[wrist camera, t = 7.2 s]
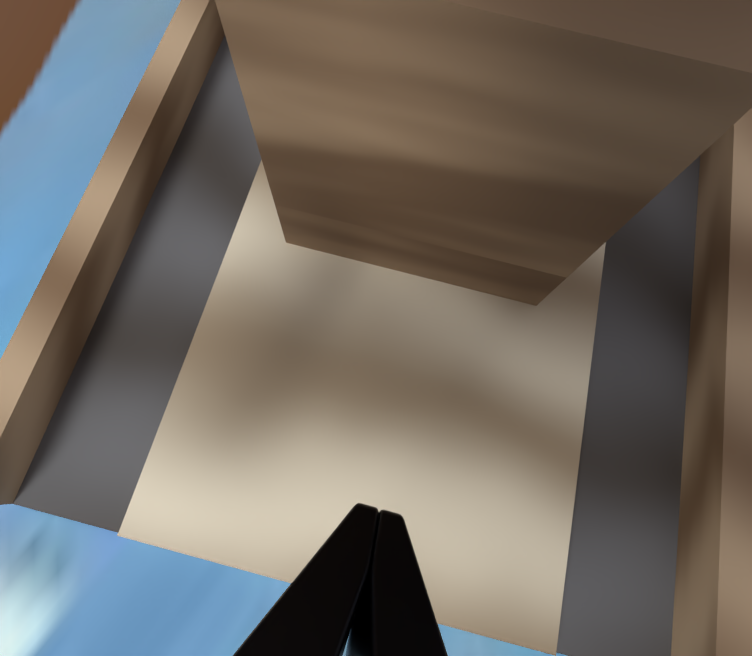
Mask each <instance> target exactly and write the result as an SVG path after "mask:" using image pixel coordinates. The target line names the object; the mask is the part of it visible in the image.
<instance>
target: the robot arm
mask: <svg viewBox="0 0 752 656" xmlns="http://www.w3.org/2000/svg"><path fill="white" fill-rule="evenodd" d="M348 636H349V638H348ZM347 639H348V644H347V651H346V656H448V655H447V652H446V649H445V646H444V643H443V640H442V636H441V633H440V630H439V627H438V624H437V621H436V618H435V614H434V611H433V608H432V605H431V602H430V599H429V596H428V593H427V589H426V586H425V583H424V580H423V577H422V574H421V571H420V567H419V564H418V561H417V558H416V555H415V552H414V549H413V546H412V542H411V539H410V536H409V533H408V530H407V527H406V524H405V520H404V518H403V516H402V515H401V514H398V513H394V512H391V511H387V510H381V511H380V512H379V511H378V509H377V508H376V507H373V506H369V505H366V504H362V503H357V504H356V505H354V507H353V508H352V509H351V510H350V512H349V513H348V514H347V515H346V516H345V518H344V519H343V520H342V521H341V523H340V524H339V525H338V526H337V528H336V529H335V530H334V531H333V533H332V534H331V535H330V536H329V537H328V539H327V540H326V541H325V542H324V544H323V545H322V546H321V547H320V549H319V550H318V551H317V552H316V554H315V555H314V556H313V557H312V558H311V560H310V561H309V562H308V563H307V565H306V566H305V567H304V568H303V570H302V571H301V572H300V573H299V575H298V576H297V577H296V578H295V580H294V581H293V582H292V583H291V584H290V586H289V587H288V588H287V589H286V591H285V592H284V593H283V594H282V596H281V597H280V598H279V599H278V601H277V602H276V603H275V604H274V605H273V607H272V608H271V609H270V610H269V612H268V613H267V614H266V615H265V617H264V618H263V619H262V620H261V622H260V623H259V624H258V625H257V627H256V628H255V629H254V630H253V631H252V633H251V634H250V635H249V636H248V638H247V639H246V640H245V641H244V643H243V644H242V645H241V646H240V648H239V649H238V650H237V651H236V652H235V654H234V655H233V656H342V655H343V652H344V649H345V645H346V642H347Z"/></svg>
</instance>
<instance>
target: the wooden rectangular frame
mask: <svg viewBox="0 0 752 656" xmlns="http://www.w3.org/2000/svg"><path fill="white" fill-rule="evenodd" d="M357 503H362V504H366V505H369V506H373V507H376V508H377V509H378V511H379V512H380V511H381V510H387V511H391V512H394V513H398V514H401V515H402V516H403V518H404V520H405V524H406V527H407V530H408V533H409V536H410V539H411V542H412V546H413V549H414V552H415V555H416V558H417V561H418V564H419V567H420V571H421V574H422V577H423V580H424V583H425V586H426V589H427V593H428V596H429V599H430V602H431V605H432V608H433V611H434V614H435V618H436V621H437V623H438V624H442V625H446V626H449V627H453V628H457V629H460V630H464V631H468V632H471V633H475V634H479V635H482V636H486V637H490V638H493V639H497V640H500V641H504V642H508V643H511V644H515V645H519V646H522V647H526V648H530V649H533V650H537V651H541V652H544V653H548V654H552V655H555V656H556V652H557V653H560V654H564V655H568V656H752V108H751V109H750V110H749V111H748V112H747V113H746V114H744V115H743V116H742V117H741V118H740V119H739V120H738V121H737V122H736V123H735V124H734V125H733V126H731V127H730V128H729V129H728V130H727V131H726V132H725V133H724V134H723V135H722V136H721V137H719V138H718V139H717V140H716V141H715V142H714V143H713V144H712V145H711V146H710V147H709V148H708V149H706V150H705V151H704V152H703V153H702V154H701V155H700V156H699V157H698V158H697V159H696V160H694V161H693V162H692V163H691V164H690V165H689V166H688V167H687V168H686V169H685V170H684V171H682V172H681V173H680V174H679V175H678V176H677V177H676V178H675V179H674V180H673V181H672V182H671V183H669V184H668V185H667V186H666V187H665V188H664V189H663V190H662V191H661V192H660V193H659V194H657V195H656V196H655V197H654V198H653V199H652V200H651V201H650V202H649V203H648V204H647V205H646V206H644V207H643V208H642V209H641V210H640V211H639V212H638V213H637V214H636V215H635V216H634V217H632V218H631V219H630V220H629V221H628V222H627V223H626V224H625V225H624V226H623V227H622V228H620V229H619V230H618V231H617V232H616V233H615V234H614V235H613V236H612V237H611V238H610V239H609V240H607V241H606V242H605V243H604V244H603V245H602V246H601V247H600V248H599V249H598V250H597V251H595V252H594V253H593V254H592V255H591V256H590V257H589V258H588V259H587V260H586V261H585V262H584V263H582V264H581V265H580V266H579V267H578V268H577V269H576V270H575V271H574V272H573V273H572V274H570V275H569V276H568V277H567V278H566V279H565V280H564V281H563V282H562V283H561V284H560V285H559V286H557V287H556V288H555V289H554V290H553V291H552V292H551V293H550V294H549V295H548V296H547V297H545V298H544V299H543V300H542V301H541V302H540V303H539V304H538V305H537V306H535V305H531V304H527V303H523V302H519V301H515V300H511V299H507V298H503V297H499V296H495V295H491V294H487V293H483V292H479V291H475V290H471V289H467V288H463V287H459V286H455V285H451V284H448V283H444V282H440V281H436V280H432V279H428V278H424V277H420V276H416V275H412V274H408V273H404V272H400V271H396V270H392V269H388V268H384V267H380V266H376V265H372V264H368V263H364V262H360V261H356V260H353V259H349V258H345V257H341V256H337V255H333V254H329V253H325V252H321V251H317V250H313V249H309V248H305V247H301V246H297V245H293V244H289V243H286V241H285V238H284V234H283V231H282V227H281V224H280V220H279V217H278V214H277V210H276V207H275V203H274V200H273V197H272V193H271V190H270V186H269V183H268V180H267V176H266V173H265V169H264V166H263V163H262V159H261V156H260V152H259V149H258V145H257V142H256V139H255V135H254V132H253V128H252V125H251V122H250V118H249V115H248V111H247V108H246V105H245V101H244V98H243V94H242V91H241V88H240V84H239V81H238V77H237V74H236V70H235V67H234V64H233V60H232V57H231V53H230V50H229V47H228V43H227V40H226V36H225V33H224V30H223V26H222V23H221V19H220V16H219V13H218V9H217V6H216V2H215V0H181V2H180V4H179V6H178V8H177V10H176V12H175V14H174V16H173V18H172V20H171V21H170V23H169V25H168V27H167V29H166V31H165V33H164V35H163V37H162V39H161V41H160V43H159V45H158V47H157V49H156V51H155V53H154V55H153V57H152V59H151V61H150V63H149V65H148V67H147V69H146V71H145V73H144V75H143V77H142V79H141V81H140V83H139V85H138V87H137V89H136V91H135V93H134V95H133V97H132V99H131V101H130V103H129V105H128V107H127V109H126V111H125V113H124V115H123V117H122V119H121V121H120V123H119V125H118V127H117V129H116V131H115V133H114V135H113V137H112V139H111V141H110V143H109V145H108V147H107V149H106V151H105V153H104V155H103V157H102V159H101V161H100V163H99V165H98V167H97V169H96V171H95V173H94V175H93V177H92V179H91V181H90V183H89V185H88V187H87V189H86V191H85V193H84V195H83V197H82V199H81V201H80V203H79V205H78V207H77V209H76V211H75V213H74V215H73V217H72V218H71V220H70V222H69V224H68V226H67V228H66V230H65V232H64V234H63V236H62V238H61V240H60V242H59V244H58V246H57V248H56V250H55V252H54V254H53V256H52V258H51V260H50V262H49V264H48V266H47V268H46V270H45V272H44V274H43V276H42V278H41V280H40V282H39V284H38V286H37V288H36V290H35V292H34V294H33V296H32V298H31V300H30V302H29V304H28V306H27V308H26V310H25V312H24V314H23V316H22V318H21V320H20V322H19V324H18V326H17V328H16V330H15V332H14V334H13V336H12V338H11V340H10V342H9V344H8V346H7V348H6V350H5V352H4V354H3V356H2V358H1V360H0V505H2V504H16V505H20V506H23V507H27V508H31V509H34V510H38V511H41V512H45V513H49V514H52V515H56V516H60V517H63V518H67V519H71V520H74V521H78V522H82V523H85V524H89V525H93V526H96V527H100V528H104V529H107V530H111V531H115V532H118V535H117V536H121V537H124V538H128V539H132V540H135V541H139V542H143V543H146V544H150V545H154V546H157V547H161V548H164V549H168V550H172V551H175V552H179V553H183V554H186V555H190V556H194V557H197V558H201V559H205V560H208V561H212V562H216V563H219V564H223V565H227V566H230V567H234V568H238V569H241V570H245V571H248V572H252V573H256V574H259V575H263V576H267V577H270V578H274V579H278V580H281V581H285V582H289V583H292V582H293V581H294V580H295V578H296V577H297V576H298V575H299V573H300V572H301V571H302V570H303V568H304V567H305V566H306V565H307V563H308V562H309V561H310V560H311V558H312V557H313V556H314V555H315V554H316V552H317V551H318V550H319V549H320V547H321V546H322V545H323V544H324V542H325V541H326V540H327V539H328V537H329V536H330V535H331V534H332V533H333V531H334V530H335V529H336V528H337V526H338V525H339V524H340V523H341V521H342V520H343V519H344V518H345V516H346V515H347V514H348V513H349V512H350V510H351V509H352V508H353V507H354V505H356V504H357Z"/></svg>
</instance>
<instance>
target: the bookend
mask: <svg viewBox="0 0 752 656" xmlns="http://www.w3.org/2000/svg"><path fill="white" fill-rule="evenodd" d="M215 2H216V6H217V9H218V13H219V16H220V19H221V23H222V26H223V30H224V33H225V36H226V40H227V43H228V47H229V50H230V53H231V57H232V60H233V64H234V67H235V70H236V74H237V77H238V81H239V84H240V88H241V91H242V94H243V98H244V101H245V105H246V108H247V111H248V115H249V118H250V122H251V125H252V128H253V132H254V135H255V139H256V142H257V145H258V149H259V152H260V156H261V159H262V163H263V166H264V169H265V173H266V176H267V180H268V183H269V186H270V190H271V193H272V197H273V200H274V203H275V207H276V210H277V214H278V217H279V220H280V224H281V227H282V231H283V234H284V238H285V241H286V243H289V244H293V245H297V246H301V247H305V248H309V249H313V250H317V251H321V252H325V253H329V254H333V255H337V256H341V257H345V258H349V259H353V260H356V261H360V262H364V263H368V264H372V265H376V266H380V267H384V268H388V269H392V270H396V271H400V272H404V273H408V274H412V275H416V276H420V277H424V278H428V279H432V280H436V281H440V282H444V283H448V284H451V285H455V286H459V287H463V288H467V289H471V290H475V291H479V292H483V293H487V294H491V295H495V296H499V297H503V298H507V299H511V300H515V301H519V302H523V303H527V304H531V305H535V306H537V305H538V304H539V303H540V302H541V301H542V300H543V299H544V298H545V297H547V296H548V295H549V294H550V293H551V292H552V291H553V290H554V289H555V288H556V287H557V286H559V285H560V284H561V283H562V282H563V281H564V280H565V279H566V278H567V277H568V276H569V275H570V274H572V273H573V272H574V271H575V270H576V269H577V268H578V267H579V266H580V265H581V264H582V263H584V262H585V261H586V260H587V259H588V258H589V257H590V256H591V255H592V254H593V253H594V252H595V251H597V250H598V249H599V248H600V247H601V246H602V245H603V244H604V243H605V242H606V241H607V240H609V239H610V238H611V237H612V236H613V235H614V234H615V233H616V232H617V231H618V230H619V229H620V228H622V227H623V226H624V225H625V224H626V223H627V222H628V221H629V220H630V219H631V218H632V217H634V216H635V215H636V214H637V213H638V212H639V211H640V210H641V209H642V208H643V207H644V206H646V205H647V204H648V203H649V202H650V201H651V200H652V199H653V198H654V197H655V196H656V195H657V194H659V193H660V192H661V191H662V190H663V189H664V188H665V187H666V186H667V185H668V184H669V183H671V182H672V181H673V180H674V179H675V178H676V177H677V176H678V175H679V174H680V173H681V172H682V171H684V170H685V169H686V168H687V167H688V166H689V165H690V164H691V163H692V162H693V161H694V160H696V159H697V158H698V157H699V156H700V155H701V154H702V153H703V152H704V151H705V150H706V149H708V148H709V147H710V146H711V145H712V144H713V143H714V142H715V141H716V140H717V139H718V138H719V137H721V136H722V135H723V134H724V133H725V132H726V131H727V130H728V129H729V128H730V127H731V126H733V125H734V124H735V123H736V122H737V121H738V120H739V119H740V118H741V117H742V116H743V115H744V114H746V113H747V112H748V111H749V110H750V109H751V108H752V0H215Z"/></svg>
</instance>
